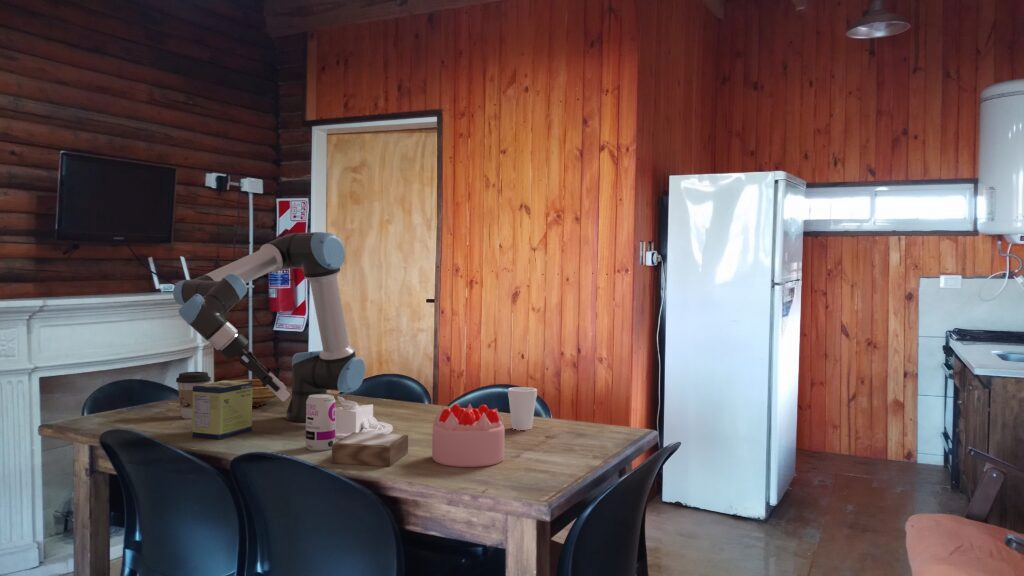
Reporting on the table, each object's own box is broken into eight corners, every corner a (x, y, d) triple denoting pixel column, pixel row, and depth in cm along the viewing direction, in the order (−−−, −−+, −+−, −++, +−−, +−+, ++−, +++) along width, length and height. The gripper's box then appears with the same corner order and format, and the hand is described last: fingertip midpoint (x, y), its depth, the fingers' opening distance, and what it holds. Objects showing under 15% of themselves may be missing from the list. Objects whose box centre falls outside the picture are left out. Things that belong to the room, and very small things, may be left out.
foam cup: (540, 427, 260) (541, 388, 260) (529, 432, 252) (530, 392, 251) (514, 424, 264) (515, 386, 264) (502, 429, 256) (503, 389, 255)
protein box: (253, 430, 248) (253, 381, 248) (219, 440, 234) (220, 388, 233) (225, 427, 252) (226, 379, 252) (191, 437, 237) (191, 385, 237)
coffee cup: (167, 418, 266) (167, 374, 266) (192, 412, 277) (193, 370, 276) (193, 421, 262) (193, 376, 262) (218, 415, 272) (218, 372, 272)
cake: (428, 467, 205) (429, 413, 205) (435, 450, 225) (436, 400, 225) (503, 468, 205) (504, 414, 205) (504, 451, 225) (505, 401, 225)
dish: (355, 443, 234) (355, 405, 233) (296, 433, 247) (296, 397, 247) (408, 430, 254) (408, 395, 254) (351, 421, 268) (351, 388, 267)
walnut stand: (331, 463, 208) (332, 443, 207) (353, 449, 223) (353, 431, 223) (390, 466, 205) (390, 446, 205) (408, 452, 221) (408, 434, 221)
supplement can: (338, 445, 229) (339, 394, 228) (329, 451, 220) (330, 398, 220) (311, 444, 229) (312, 393, 229) (301, 450, 221) (302, 397, 221)
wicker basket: (196, 404, 294) (197, 383, 293) (249, 396, 314) (249, 376, 314) (249, 413, 278) (249, 390, 278) (301, 404, 298) (301, 383, 298)
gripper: (218, 347, 226) (272, 397, 232) (218, 356, 203) (278, 411, 208) (238, 328, 228) (291, 379, 233) (240, 335, 205) (299, 391, 210)
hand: (285, 394), depth 221 cm, fingers open, 13 cm apart
